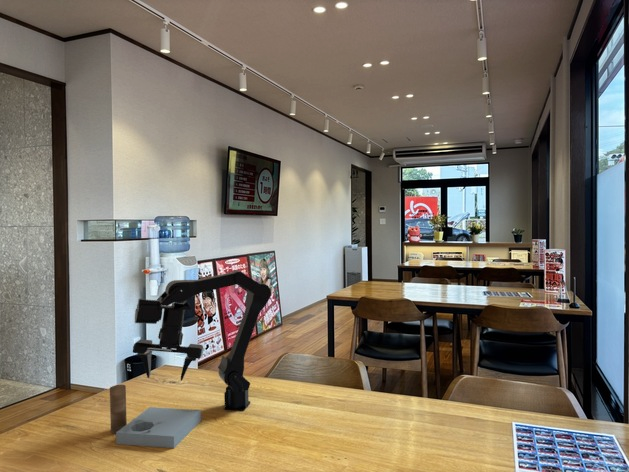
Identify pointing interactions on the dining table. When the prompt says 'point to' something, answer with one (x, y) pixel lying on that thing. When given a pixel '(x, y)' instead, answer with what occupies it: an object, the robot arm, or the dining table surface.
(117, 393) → the peg
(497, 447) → the dining table surface
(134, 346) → the robot arm
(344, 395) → the dining table surface
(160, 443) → the plate
